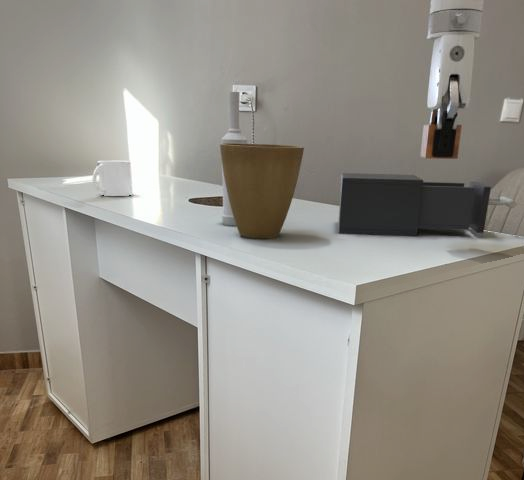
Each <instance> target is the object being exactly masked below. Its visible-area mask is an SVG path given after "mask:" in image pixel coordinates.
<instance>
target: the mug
mask: <svg viewBox="0 0 524 480" xmlns="http://www.w3.org/2000/svg"><path fill="white" fill-rule="evenodd" d="M97 177H98V181H99V185H98V184H97ZM132 177H133V176H132V165H131V161H130V160H119V159H117V160H116V159H115V160H114V159H113V160H111V159H110V160H97V165H96V167H95V168H94V170H93V173H92V179H91V180H92V186H93V188H95V190H96V191H97V192H98V193H100V196H102V195H104V196H103V197H106V196H125V197H130V196H129V195H131V196H133V194H134V193H133V191H134V190H133V179H132ZM102 192H103V193H102Z"/></svg>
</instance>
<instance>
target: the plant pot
mask: <svg viewBox="0 0 524 480" xmlns="http://www.w3.org/2000/svg"><path fill="white" fill-rule="evenodd" d="M219 149H220V150H219V151H220V157H221V168H222V167H223V173H224V178H225V184H226V188H227V193H228V198H229V202H230V205H231V209H232V213H233V216H234V219H235V222H236V225H237V226H236V229H237V231H238V234H239V235H240V236H242V237H245V238H250V239H274V238H277V237H279V236H280V233H281V231H282V229H283V226H284V224H285V221H286V218H287V216H288V213H289V210H290V208H291V204H292V200H293V198H294V195H295V191H296V187H297V184H298V180H299V176H300V170H301V166H302V161H303V156H304V152H305V151H304V150H305V146H301V145H291V144H290V145H289V144H271V143H270V144H267V143H247V144H237V143H221V142H220V143H219Z"/></svg>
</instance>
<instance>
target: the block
mask: <svg viewBox="0 0 524 480" xmlns="http://www.w3.org/2000/svg"><path fill="white" fill-rule="evenodd" d="M462 126H463V125H462V124H457V127H456V137H455V145H454V153H453V156H452V157H433V156H432V148H433V140H434V131H435V130H437V125H433V124H430V123H428V124H423V130H422V137H421V146H420V158H423V159H438V160H439V159H447V160H458V158H459V157H458V156H459V151H460V143H461V142H460V141H461V134H462V128H463V127H462Z"/></svg>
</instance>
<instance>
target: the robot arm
mask: <svg viewBox="0 0 524 480" xmlns="http://www.w3.org/2000/svg"><path fill="white" fill-rule="evenodd" d="M484 1H485V0H430V6H429V7H430V8H429V17H428V25H427V26H428V27H427V36H426V41H427V42H429V43H433V47H432V53H431V54H432V55H431V63H430V71H429V79H428V89H427V103H426V105H427V108H428V109H429V110H430V119H429V124H433V125H437V130H435V131H434V140H433V148H432V156H433V157H452V156H453V153H454V145H455V137H456V127H457V125H458V113H459V111H460V110H465V109H466V108H468V107H469V105H470V99H471V91H472V80H473V79H472V78H473V70H474V56H475V55H474V54H475V41H477V40H479V38H480V33H481V25H482V17H483V10H484Z"/></svg>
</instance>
